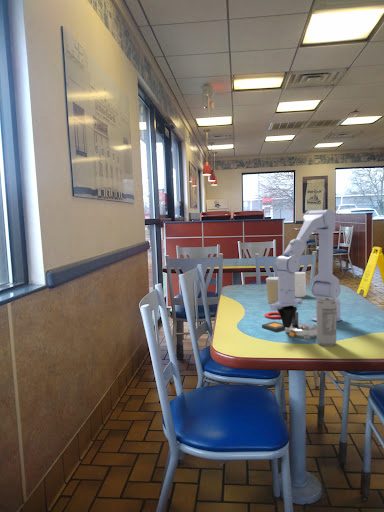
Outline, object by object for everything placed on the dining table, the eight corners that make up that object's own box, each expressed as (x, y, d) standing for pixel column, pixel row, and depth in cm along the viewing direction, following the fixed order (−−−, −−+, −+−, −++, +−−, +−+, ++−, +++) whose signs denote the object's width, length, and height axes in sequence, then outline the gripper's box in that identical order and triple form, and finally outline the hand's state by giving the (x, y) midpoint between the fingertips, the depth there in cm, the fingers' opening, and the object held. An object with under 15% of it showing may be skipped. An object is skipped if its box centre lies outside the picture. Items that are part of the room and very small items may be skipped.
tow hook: (264, 320, 152) (287, 319, 150) (262, 289, 151) (285, 288, 149) (265, 314, 161) (287, 314, 159) (263, 285, 160) (285, 284, 157)
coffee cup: (284, 300, 185) (283, 276, 184) (287, 304, 176) (286, 279, 175) (265, 300, 186) (264, 276, 185) (267, 304, 177) (266, 279, 176)
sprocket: (302, 324, 142) (302, 308, 141) (333, 333, 131) (333, 315, 130) (277, 331, 134) (276, 314, 134) (307, 341, 123) (307, 322, 122)
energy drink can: (331, 340, 124) (331, 296, 122) (339, 346, 118) (339, 300, 116) (314, 340, 124) (313, 296, 122) (320, 347, 118) (320, 300, 116)
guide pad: (274, 323, 145) (274, 321, 144) (288, 327, 139) (288, 325, 139) (261, 327, 141) (261, 324, 141) (275, 331, 135) (275, 328, 135)
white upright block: (304, 293, 199) (304, 271, 198) (307, 297, 190) (307, 274, 189) (287, 293, 200) (286, 271, 199) (289, 297, 191) (288, 274, 190)
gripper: (280, 294, 124) (281, 333, 125) (309, 288, 132) (309, 325, 133) (265, 291, 129) (266, 328, 131) (293, 285, 137) (293, 321, 139)
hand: (286, 326), depth 132 cm, fingers closed
